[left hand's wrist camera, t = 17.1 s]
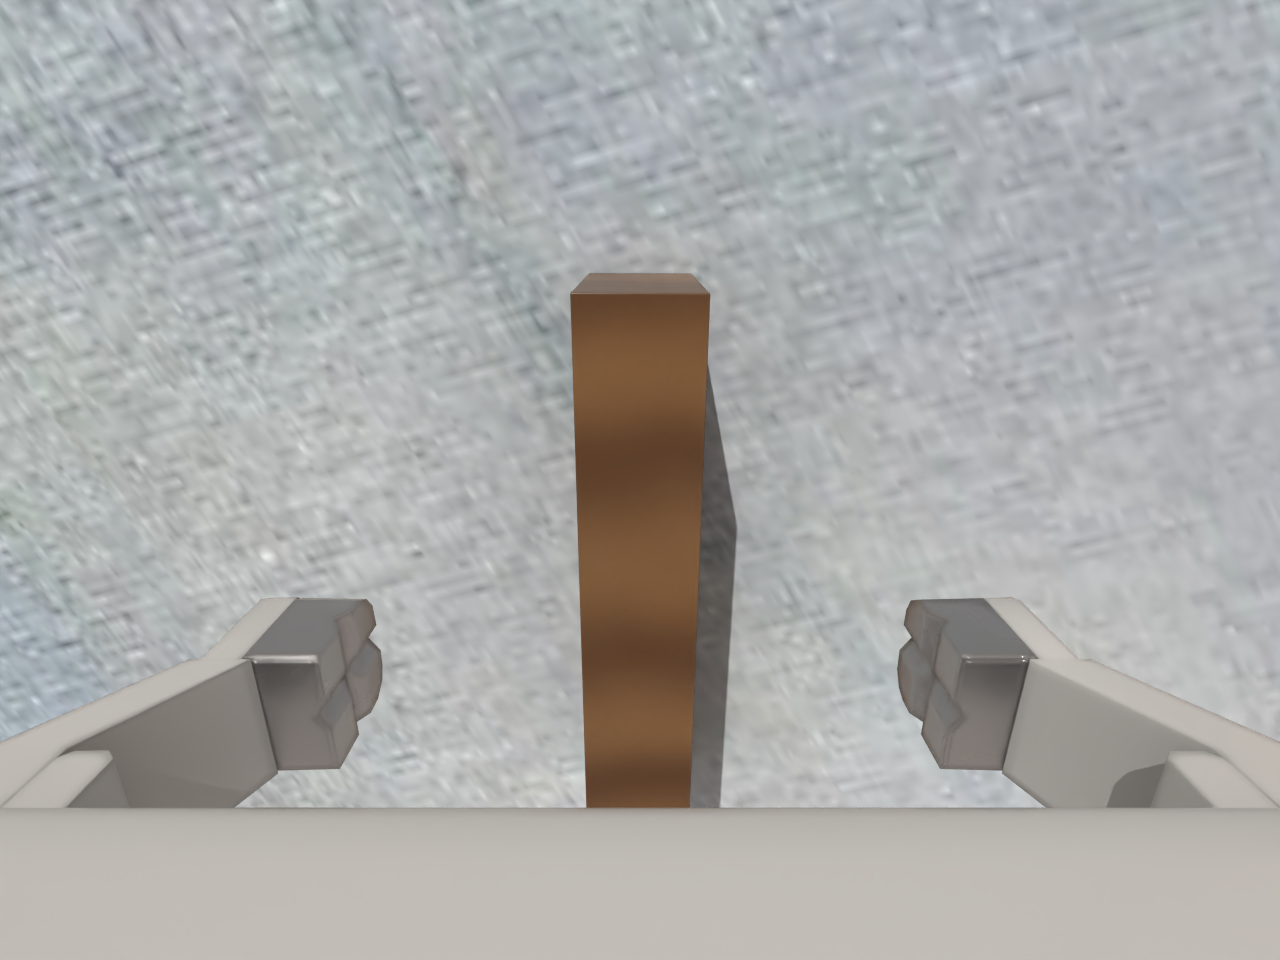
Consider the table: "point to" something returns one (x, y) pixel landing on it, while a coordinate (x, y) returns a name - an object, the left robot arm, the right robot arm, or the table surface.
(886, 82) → the table surface
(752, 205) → the table surface
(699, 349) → the bar
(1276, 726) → the table surface
